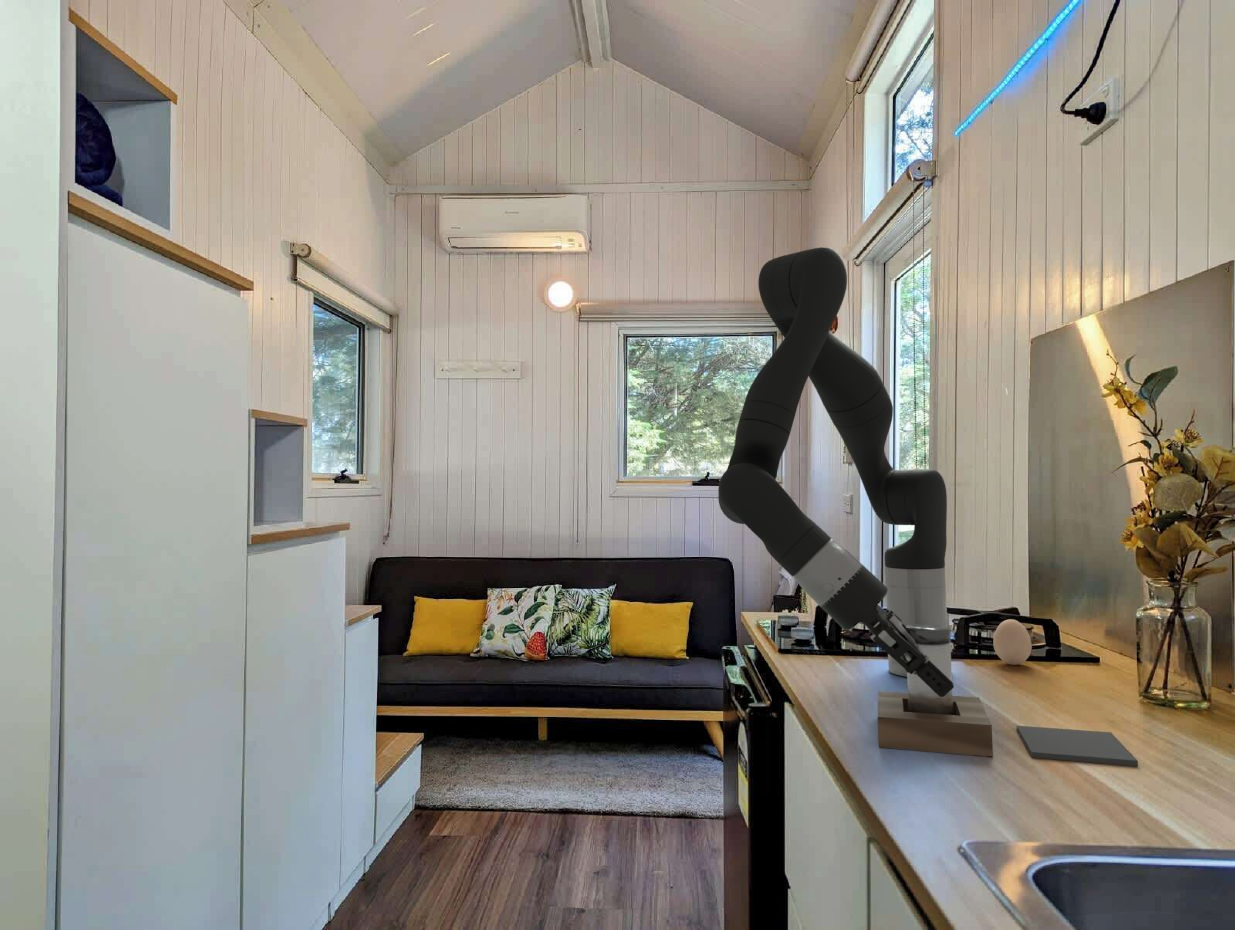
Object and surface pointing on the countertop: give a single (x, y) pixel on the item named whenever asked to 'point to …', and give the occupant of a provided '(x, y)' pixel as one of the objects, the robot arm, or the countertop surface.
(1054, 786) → the countertop surface
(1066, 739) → the rubber mat
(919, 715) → the walnut holder
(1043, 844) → the countertop surface
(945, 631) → the grey lidded canister
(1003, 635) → the egg
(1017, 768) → the countertop surface
